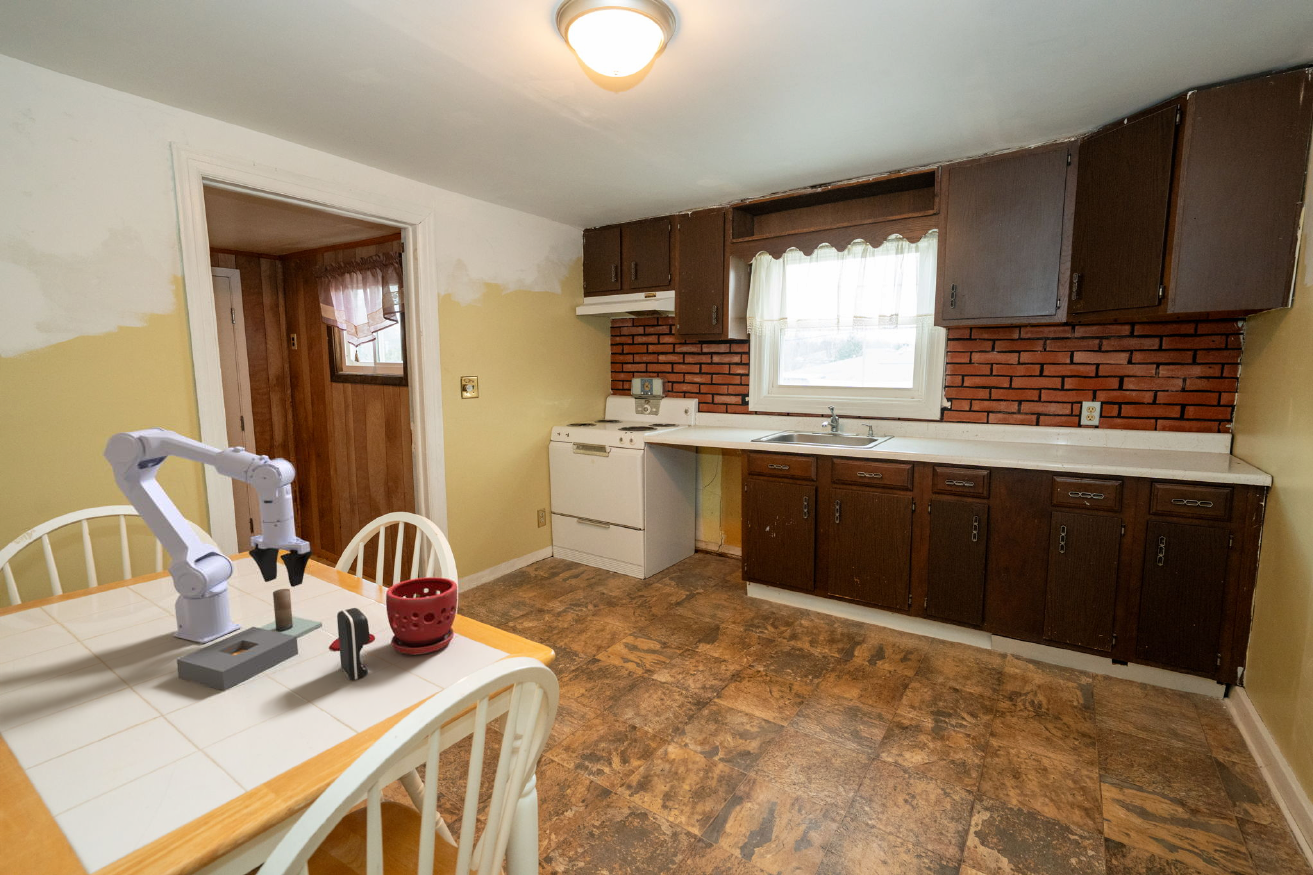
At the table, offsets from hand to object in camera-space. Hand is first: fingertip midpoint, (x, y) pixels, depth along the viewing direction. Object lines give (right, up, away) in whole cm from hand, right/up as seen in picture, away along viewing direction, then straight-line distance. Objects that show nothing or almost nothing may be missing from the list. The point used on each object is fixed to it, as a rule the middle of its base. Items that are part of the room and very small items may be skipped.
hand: (283, 582), depth 125 cm
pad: (0, -10, +1) cm, 10 cm away
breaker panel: (0, -12, -13) cm, 18 cm away
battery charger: (+23, -13, -15) cm, 30 cm away
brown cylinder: (0, -10, 0) cm, 10 cm away
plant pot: (+31, -11, -5) cm, 33 cm away
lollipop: (+14, -11, 0) cm, 18 cm away
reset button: (0, -12, -13) cm, 18 cm away
